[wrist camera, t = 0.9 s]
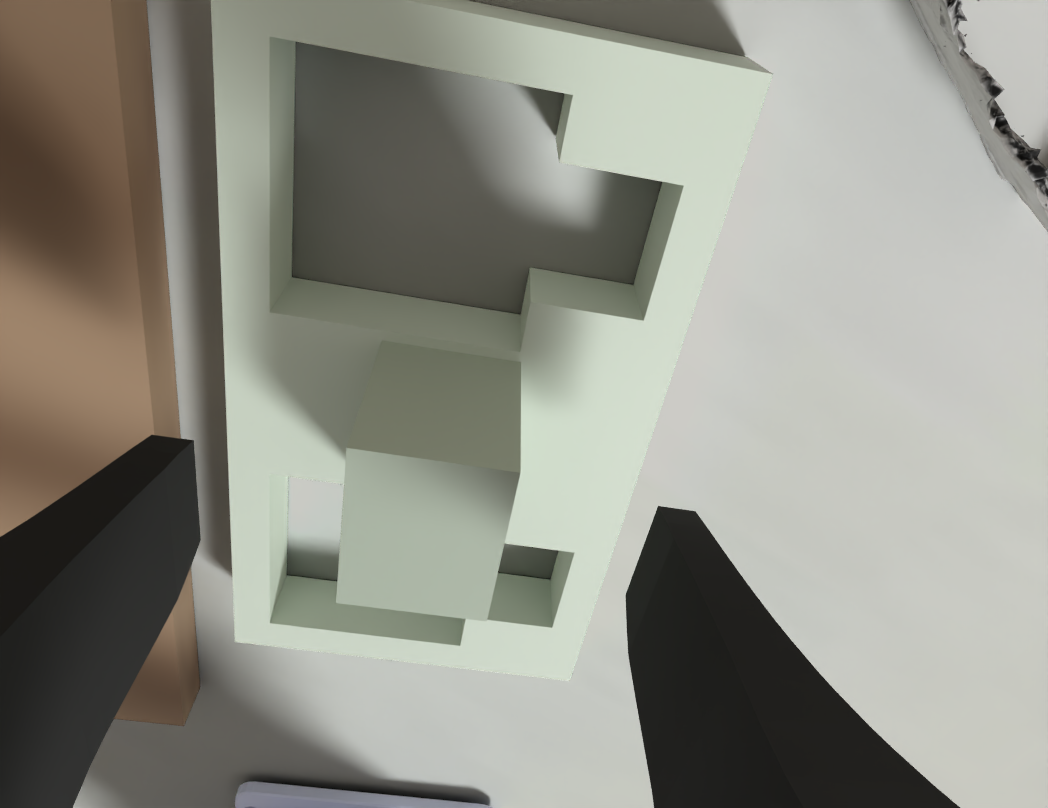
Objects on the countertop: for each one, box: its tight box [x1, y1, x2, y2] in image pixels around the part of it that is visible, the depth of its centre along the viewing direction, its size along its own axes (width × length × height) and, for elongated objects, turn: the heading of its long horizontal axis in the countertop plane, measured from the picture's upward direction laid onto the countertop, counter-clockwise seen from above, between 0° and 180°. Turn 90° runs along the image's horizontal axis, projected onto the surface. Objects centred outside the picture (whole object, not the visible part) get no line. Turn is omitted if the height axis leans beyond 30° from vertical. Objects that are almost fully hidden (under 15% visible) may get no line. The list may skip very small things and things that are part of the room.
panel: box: [211, 0, 773, 681], centre depth 14 cm, size 14×8×5 cm, turn 170°
